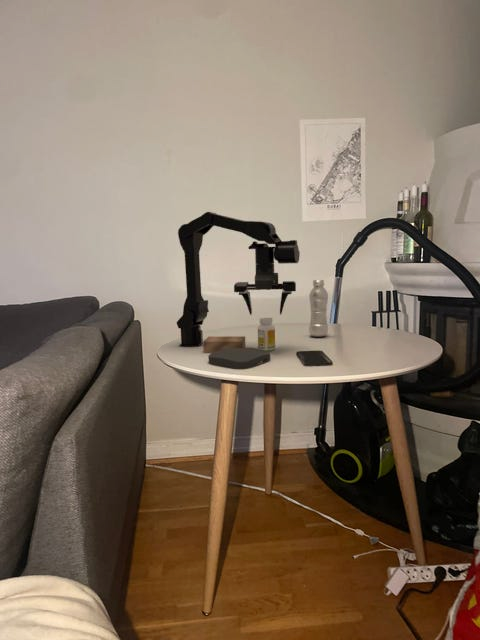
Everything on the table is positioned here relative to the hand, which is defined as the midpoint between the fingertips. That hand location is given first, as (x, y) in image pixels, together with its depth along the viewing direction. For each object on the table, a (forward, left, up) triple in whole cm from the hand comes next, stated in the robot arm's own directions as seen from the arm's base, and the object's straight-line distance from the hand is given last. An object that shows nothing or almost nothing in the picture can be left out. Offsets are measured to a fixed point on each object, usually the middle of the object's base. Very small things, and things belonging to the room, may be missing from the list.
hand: (265, 314), depth 134 cm
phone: (+14, -13, -12) cm, 22 cm away
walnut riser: (-13, -2, -11) cm, 17 cm away
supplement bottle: (0, 0, -11) cm, 11 cm away
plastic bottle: (+17, +20, -11) cm, 29 cm away
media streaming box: (-6, -16, -12) cm, 20 cm away
